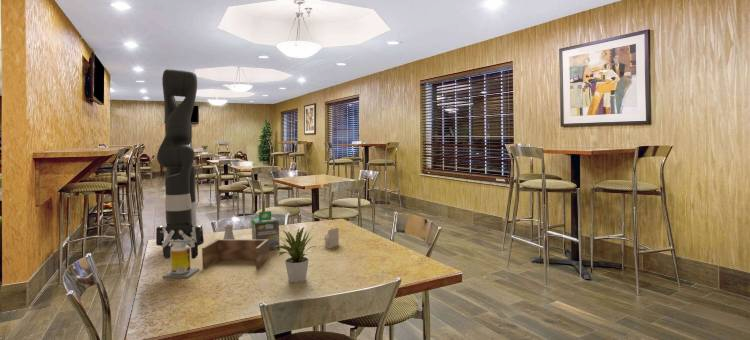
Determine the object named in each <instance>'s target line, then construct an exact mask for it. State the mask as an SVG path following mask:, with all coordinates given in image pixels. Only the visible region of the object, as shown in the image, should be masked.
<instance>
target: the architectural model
mask: <svg viewBox="0 0 750 340" xmlns="http://www.w3.org/2000/svg"><path fill="white" fill-rule="evenodd" d="M340 237H341V235H340V234H339V227H334V228H333V227H330V229H328V231H327V234H324V237H322V240H324V244H325V245H324V247H325V248H326V249H330V248H335V247H338V246H339V245H340V244H339V241H340V240H339V238H340Z"/></svg>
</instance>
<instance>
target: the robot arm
mask: <svg viewBox="0 0 750 340" xmlns="http://www.w3.org/2000/svg"><path fill="white" fill-rule="evenodd" d="M161 79H162V93H163V100H164V101H163V102H164V115H165V116H164V117H165V118H164V120H165V121H164V129H165V130H164V133H165V135H164V138H163V140H162V142H161V144H160V146H159V148H158V151H157V154H156V158H157V162H158V164H159V165H160V167H162V168H165V179H164V186H165V187H164V189H165V200H164V201H165V202H164V208H165V209H164V210H165V223H166V225H165V226H164V225H158V226H157V227H156V229H155V230H156V231H155V233H156V238H155V240H156V241H155V243H156V246H161V247H162V253H163V254H162V255H163V257H164V259H166V260H168V259H171V246H170V245H172V246H173V241H175V240H186V242H187V245H188V246H190V259H191V260H192V259H193V260H194V259H196V258H197V257H198V255H199V248H198V246H201V245H202V244H204V242H205V241H204V239H205V238H204V233H203V232H204V231H203V225H198V223H197V201H196V200H197V198H196V168H195V164H194V160H195V156H196V155H195V151H194V148H193V147H191V146H190V144H191V142H192V140H193V138H192V137H193V125H192V122H191V121H192V120H191V119H192V115H193V111H194V107H195V103H196V97H197V91H198V78H197V74H196V72H194V71H191V70H183V69H174V68H168V69H167V68H166V69H165V70H164V71H163V74H162V78H161ZM175 97H181V98H184V99H183V100H182V101H181V102H180V104H179V105H178V103H177V100H176V98H175ZM165 233H167V236H166V238H165Z"/></svg>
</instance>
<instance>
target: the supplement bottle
mask: <svg viewBox="0 0 750 340" xmlns="http://www.w3.org/2000/svg"><path fill="white" fill-rule="evenodd" d="M170 254H171V257H170V263H171V264H170V265H171V271H172V273H173V274H184V273H187V272H189V271H190V268H191V246H190V245H187V242H186V240H175V241H173V245H172V246H171V247H170Z"/></svg>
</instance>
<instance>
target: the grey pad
mask: <svg viewBox="0 0 750 340" xmlns="http://www.w3.org/2000/svg"><path fill="white" fill-rule="evenodd" d="M199 271H200V268H199V267H198V268H197V267H196V268H193V267H192V268H191V267H190V271H189V272H187V273H184V274H173V273H172V270H170V271H169V272H167V273H166V274H164V275H163V276H162V279H189V278H191V277H192V276H193V275H195V274H196V273H198V272H199Z"/></svg>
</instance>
